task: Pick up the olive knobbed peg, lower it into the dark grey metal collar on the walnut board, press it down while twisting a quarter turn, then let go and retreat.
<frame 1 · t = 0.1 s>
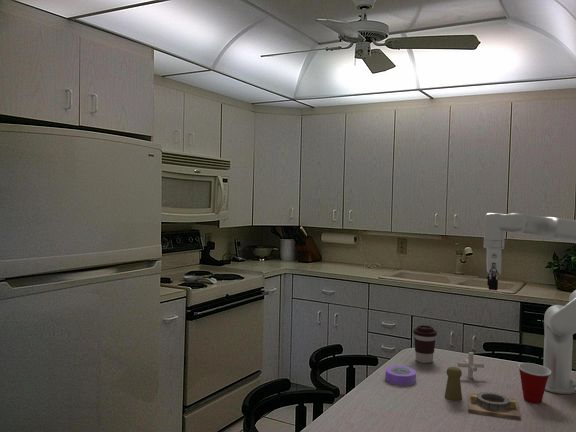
hand: (492, 287, 203), 37 cm above the table, tool pointing down, fingers open, 9 cm apart
pipe connector: (470, 378, 207), on the table
coffee cup: (424, 361, 227), on the table
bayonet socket: (492, 406, 178), on the table
plastic cup: (533, 401, 184), on the table
masking tape: (400, 380, 203), on the table
olive knobbed peg: (453, 398, 185), on the table
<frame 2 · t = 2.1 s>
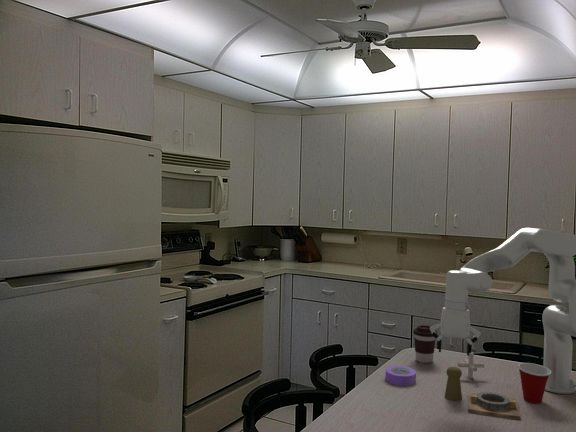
hand: (453, 353, 184), 16 cm above the table, tool pointing down, fingers open, 9 cm apart
nothing on the table moved.
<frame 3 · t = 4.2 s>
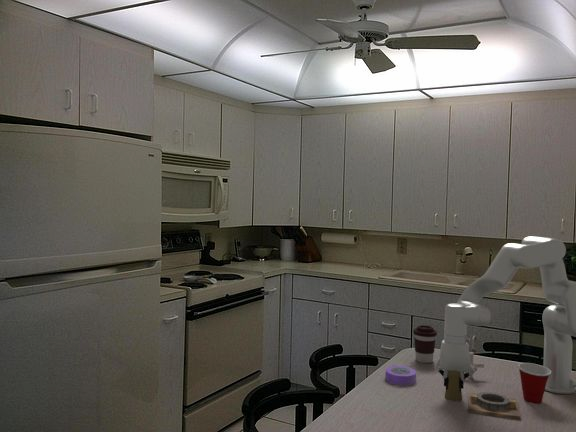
hand: (453, 388, 185), 3 cm above the table, tool pointing down, fingers closed on olive knobbed peg, 4 cm apart
olive knobbed peg: (453, 398, 185), on the table, touching gripper
everything else where it was.
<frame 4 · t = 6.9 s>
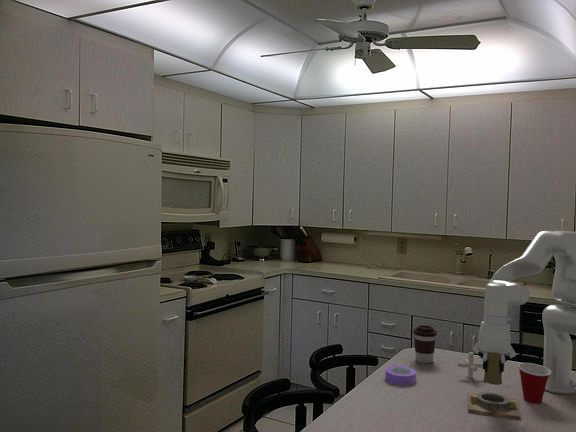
hand: (493, 372, 177), 12 cm above the table, tool pointing down, fingers closed on olive knobbed peg, 4 cm apart
olive knobbed peg: (492, 382, 177), point 9 cm above the table, touching gripper
everything else where it was.
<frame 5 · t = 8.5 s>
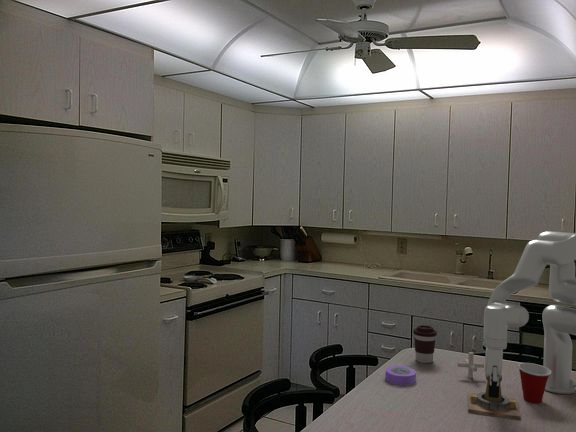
hand: (493, 394, 178), 4 cm above the table, tool pointing down, fingers closed on olive knobbed peg, 4 cm apart
olive knobbed peg: (493, 404, 178), point 1 cm above the table, touching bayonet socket, gripper
everything else where it was.
when the fingers open (4 cm above the table, at t = 9.4 s): olive knobbed peg stays where it is, resting on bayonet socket.
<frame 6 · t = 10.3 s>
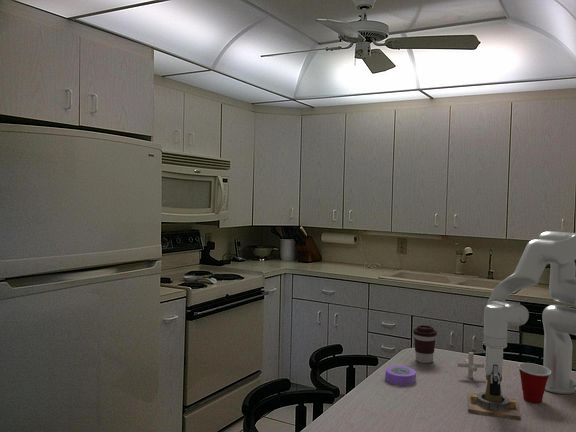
hand: (493, 390, 178), 6 cm above the table, tool pointing down, fingers open, 9 cm apart
olive knobbed peg: (493, 404, 178), point 1 cm above the table, touching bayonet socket
everything else where it was.
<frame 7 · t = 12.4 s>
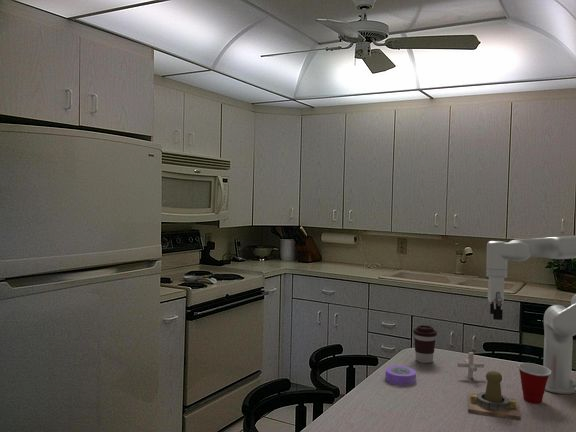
hand: (496, 316, 201), 26 cm above the table, tool pointing down, fingers open, 9 cm apart
nothing on the table moved.
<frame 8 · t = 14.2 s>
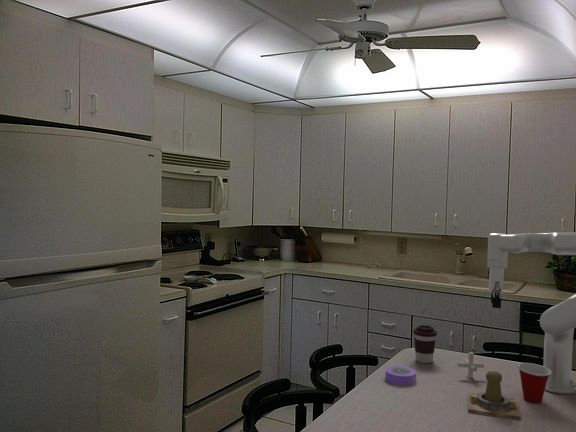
hand: (495, 305, 210), 28 cm above the table, tool pointing down, fingers open, 9 cm apart
nothing on the table moved.
at the end: olive knobbed peg 0.1 cm off-centre on the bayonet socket, point 0.8 cm above the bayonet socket's base; olive knobbed peg tilted 0°; the gripper is holding nothing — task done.
